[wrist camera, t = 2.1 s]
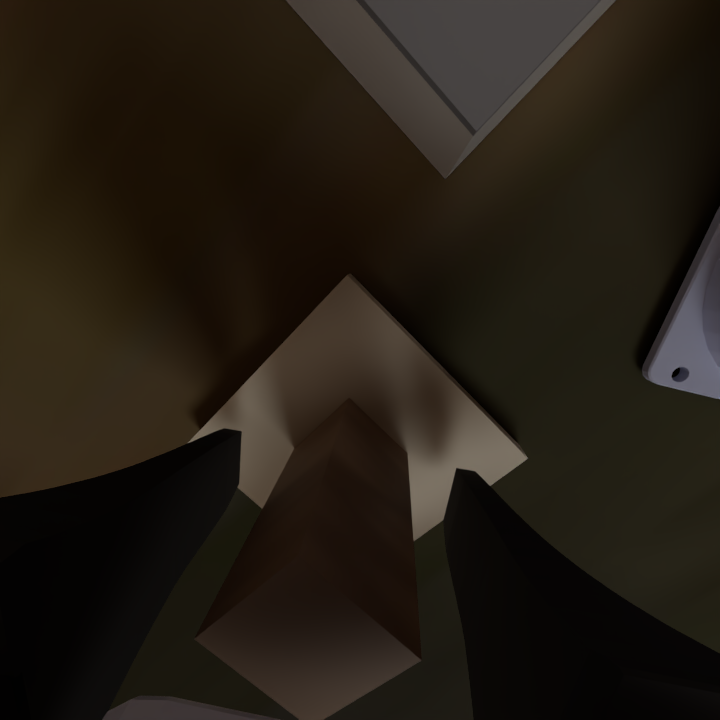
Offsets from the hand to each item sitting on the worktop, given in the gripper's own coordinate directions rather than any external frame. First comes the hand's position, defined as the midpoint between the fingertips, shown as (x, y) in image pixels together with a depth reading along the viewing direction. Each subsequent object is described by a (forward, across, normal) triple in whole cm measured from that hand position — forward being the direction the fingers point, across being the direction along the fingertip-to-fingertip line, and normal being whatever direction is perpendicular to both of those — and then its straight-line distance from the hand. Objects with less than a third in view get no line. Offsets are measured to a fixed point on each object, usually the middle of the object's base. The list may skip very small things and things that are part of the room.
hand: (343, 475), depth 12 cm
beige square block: (+2, 0, 0) cm, 2 cm away
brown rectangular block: (+2, 0, 0) cm, 2 cm away
